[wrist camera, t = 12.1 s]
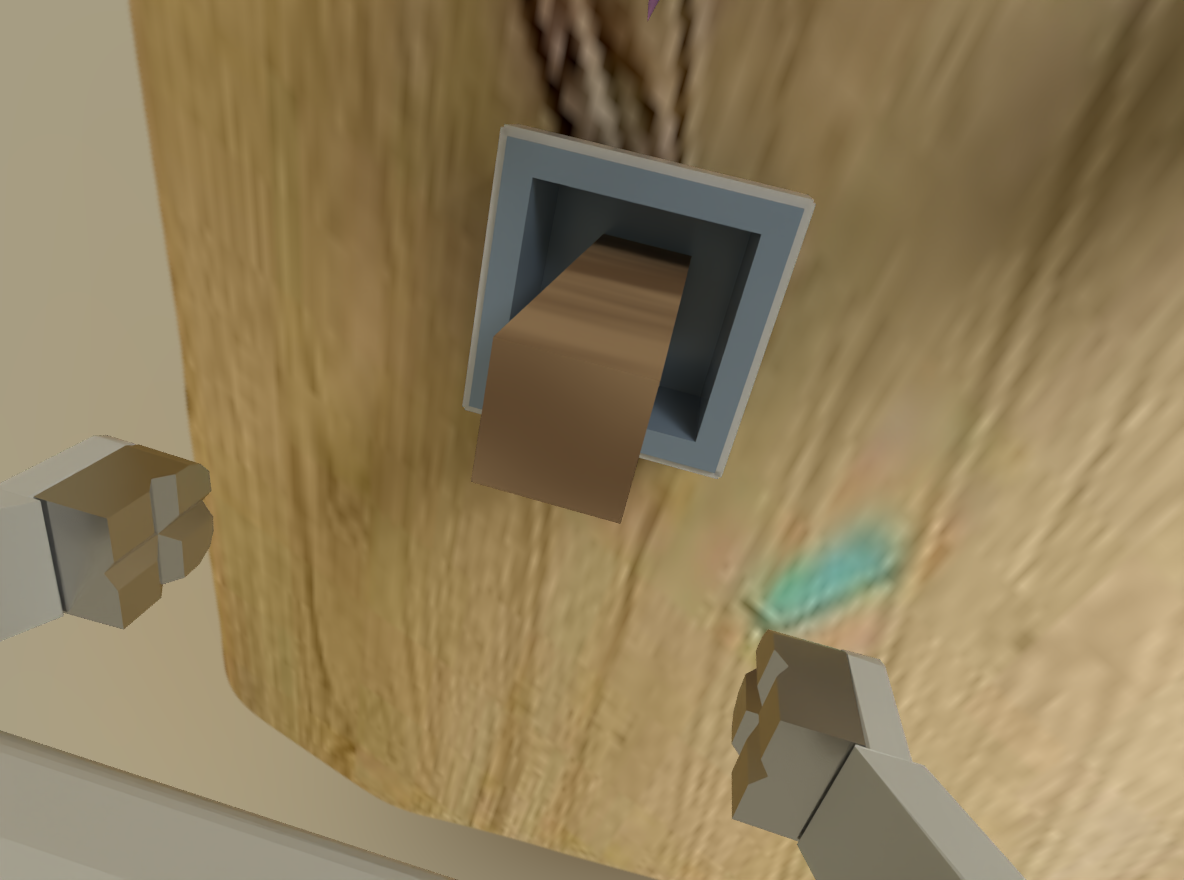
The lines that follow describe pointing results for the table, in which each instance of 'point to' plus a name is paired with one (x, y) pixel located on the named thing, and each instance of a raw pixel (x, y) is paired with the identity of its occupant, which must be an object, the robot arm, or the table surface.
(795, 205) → the blue square box
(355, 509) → the table surface
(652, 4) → the mauve toy figure
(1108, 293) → the table surface
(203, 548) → the robot arm
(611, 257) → the brown wooden block
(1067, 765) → the table surface
